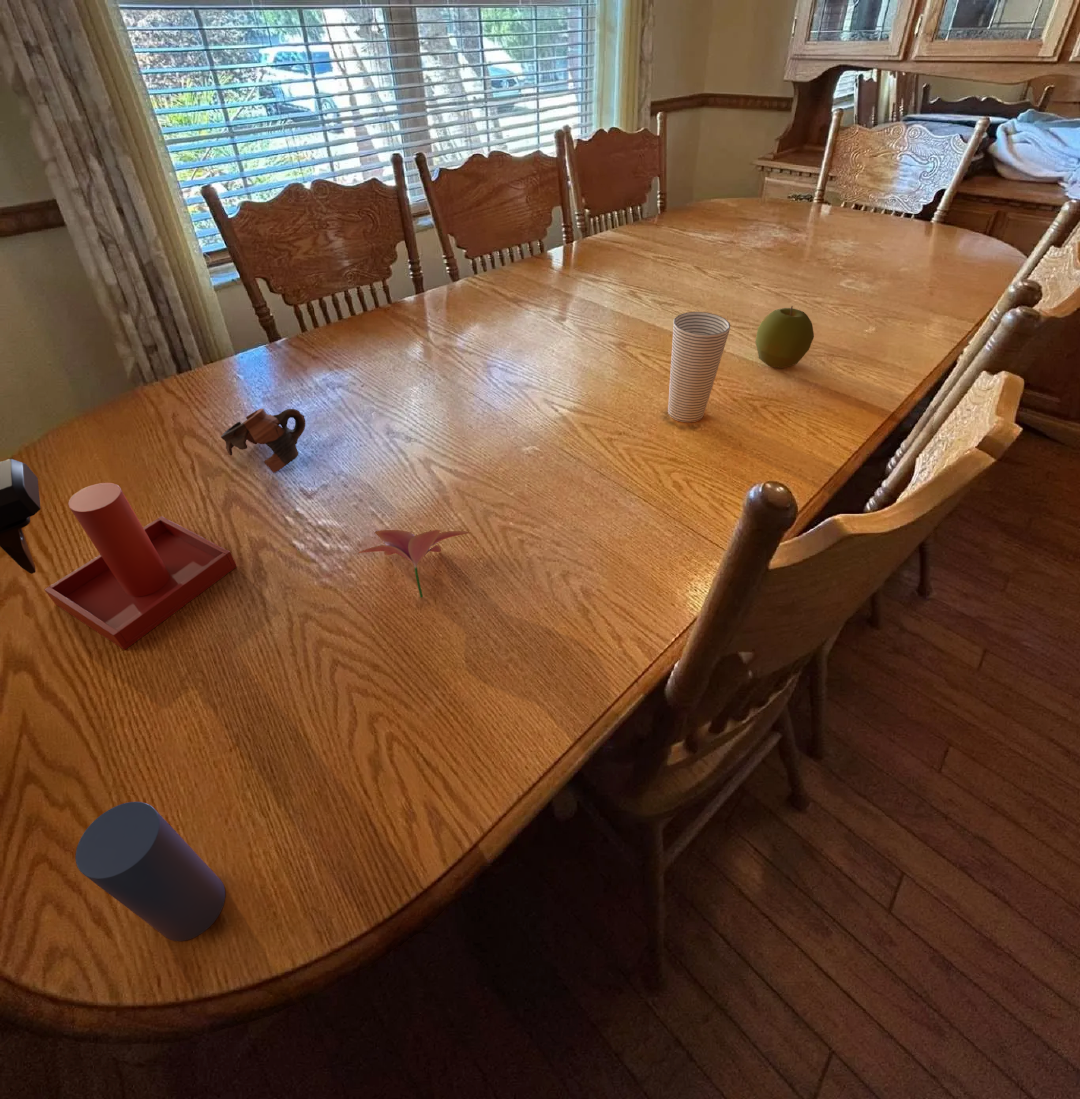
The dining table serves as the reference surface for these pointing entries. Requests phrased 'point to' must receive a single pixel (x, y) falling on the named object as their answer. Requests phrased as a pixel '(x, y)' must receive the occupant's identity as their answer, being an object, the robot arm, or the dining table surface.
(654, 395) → the dining table surface
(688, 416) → the cup
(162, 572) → the red pin
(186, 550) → the red tray
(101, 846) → the blue pin
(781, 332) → the apple
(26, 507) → the robot arm
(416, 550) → the lily
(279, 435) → the brown irregular piece
